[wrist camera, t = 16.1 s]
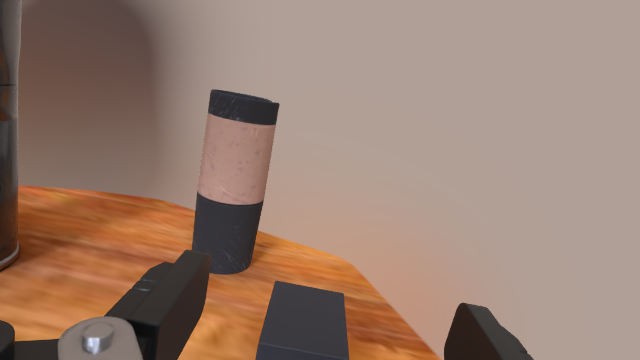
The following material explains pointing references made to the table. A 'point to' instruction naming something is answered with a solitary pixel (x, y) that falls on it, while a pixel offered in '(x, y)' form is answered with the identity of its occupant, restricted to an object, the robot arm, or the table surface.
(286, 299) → the slate block
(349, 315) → the table surface
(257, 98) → the travel mug
